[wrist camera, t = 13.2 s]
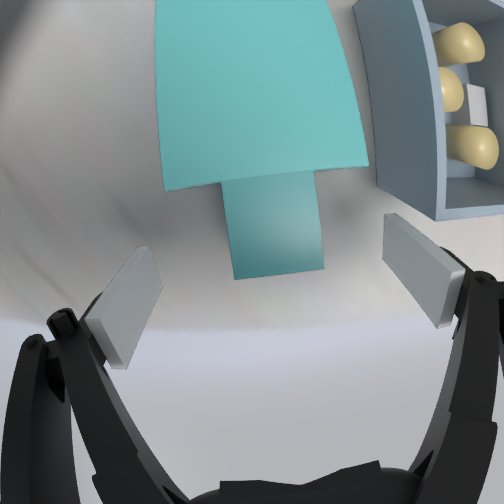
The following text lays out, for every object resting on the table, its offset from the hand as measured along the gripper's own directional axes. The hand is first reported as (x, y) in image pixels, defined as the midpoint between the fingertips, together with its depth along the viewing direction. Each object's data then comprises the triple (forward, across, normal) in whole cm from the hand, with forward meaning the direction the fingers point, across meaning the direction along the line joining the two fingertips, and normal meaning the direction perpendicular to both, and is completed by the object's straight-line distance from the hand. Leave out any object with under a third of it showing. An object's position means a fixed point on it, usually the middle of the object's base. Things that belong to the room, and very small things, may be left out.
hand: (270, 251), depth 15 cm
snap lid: (+8, 0, +8) cm, 11 cm away
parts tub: (+6, +14, +8) cm, 17 cm away
